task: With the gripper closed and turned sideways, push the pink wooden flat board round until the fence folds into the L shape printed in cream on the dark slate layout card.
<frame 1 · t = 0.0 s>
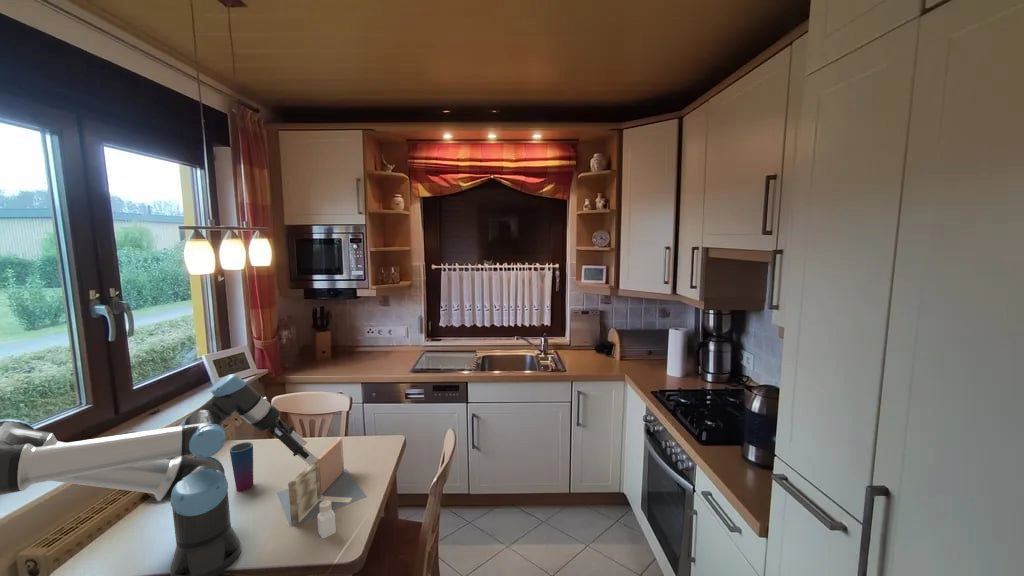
hand: (308, 453, 136), 15 cm above the table, tool tilted 35°, fingers open, 13 cm apart
fixed fence section: (317, 498, 136), resting on layout card
salt shaker: (327, 534, 120), on the table
layout card: (321, 495, 138), on the table
pie: (171, 489, 143), on the table
cup: (245, 487, 143), on the table
pink wooden flat board: (330, 464, 144), point 7 cm above the table, hinge at 0.0°
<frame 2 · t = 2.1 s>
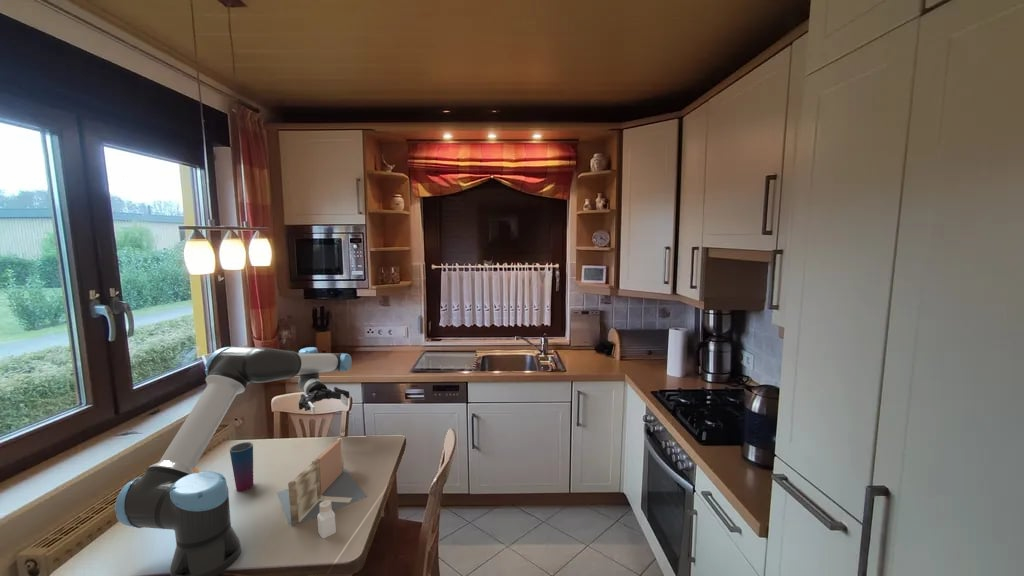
hand: (330, 406, 153), 24 cm above the table, tool horizontal, fingers open, 11 cm apart
nothing on the table moved.
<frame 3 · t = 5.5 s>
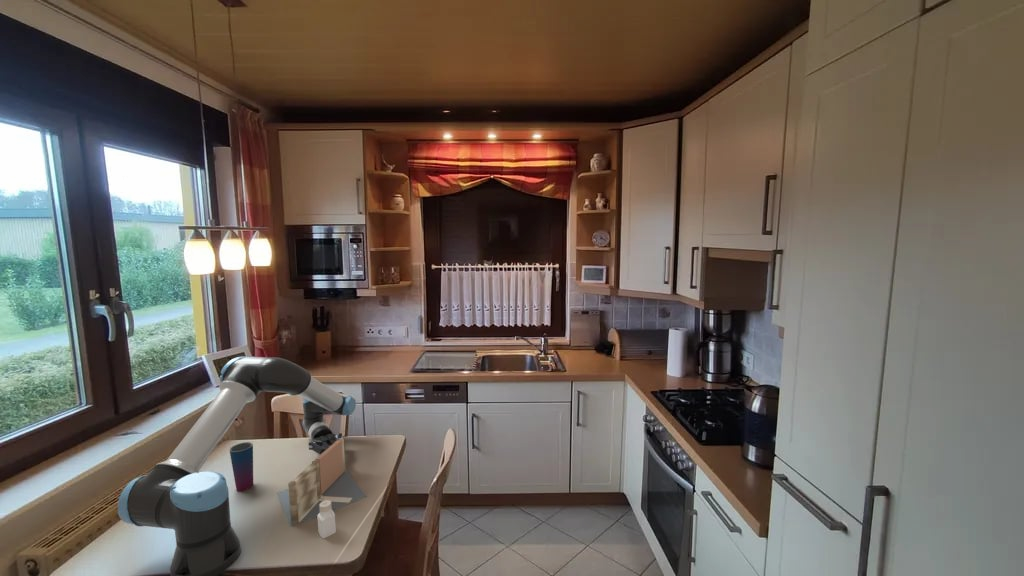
hand: (338, 457, 151), 6 cm above the table, tool horizontal, fingers closed
pink wooden flat board: (331, 464, 144), point 7 cm above the table, hinge at -1.9°, touching gripper
everything else where it was.
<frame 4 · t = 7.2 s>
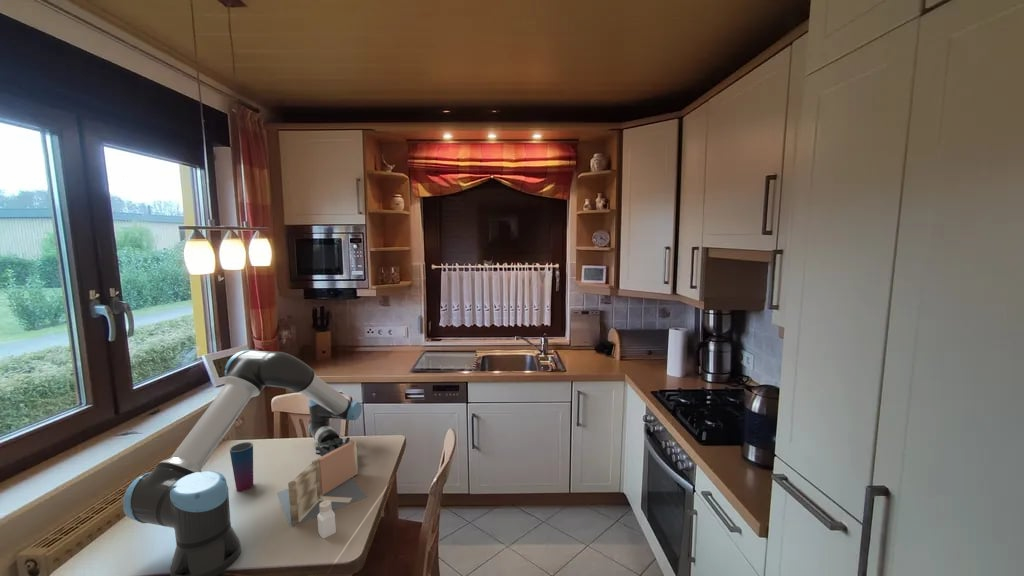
hand: (346, 462, 147), 6 cm above the table, tool horizontal, fingers closed
pink wooden flat board: (339, 466, 143), point 7 cm above the table, hinge at -22.9°, touching gripper
everything else where it was.
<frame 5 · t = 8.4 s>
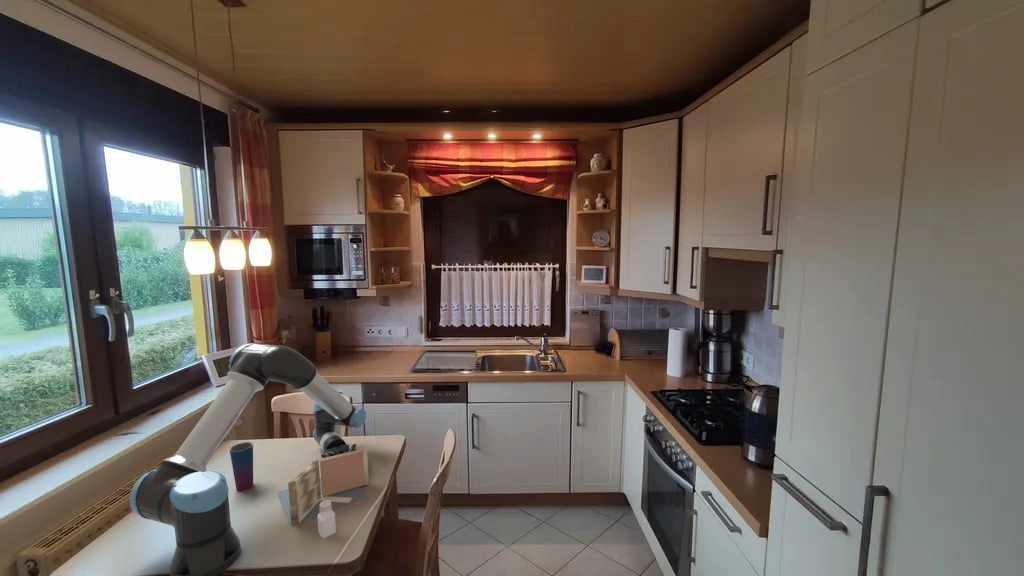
hand: (353, 470, 142), 6 cm above the table, tool horizontal, fingers closed
pink wooden flat board: (345, 471, 139), point 7 cm above the table, hinge at -55.6°, touching gripper
everything else where it was.
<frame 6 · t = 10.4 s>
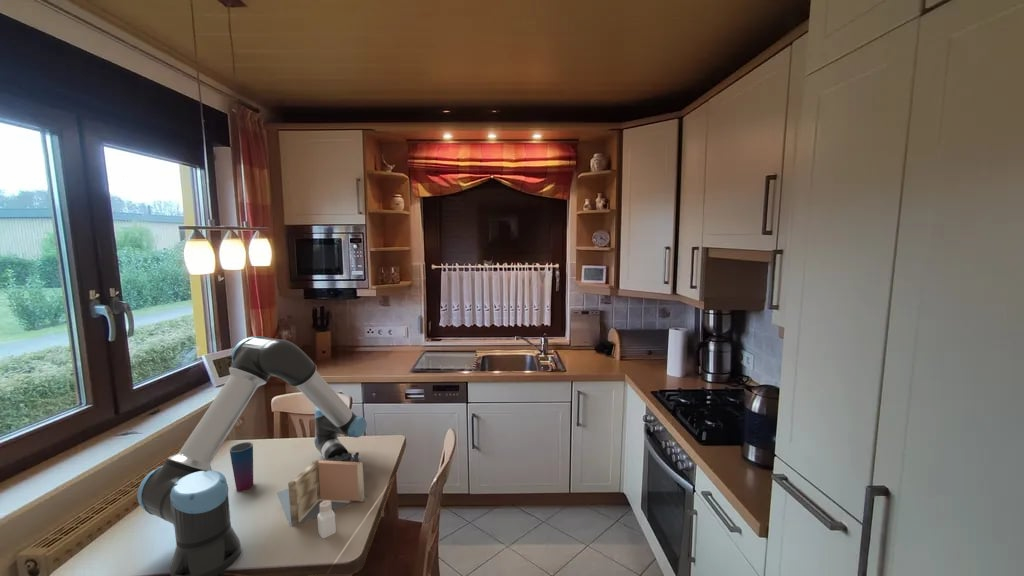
hand: (356, 481, 135), 6 cm above the table, tool horizontal, fingers closed
pink wooden flat board: (341, 480, 134), point 7 cm above the table, hinge at -90.6°, touching gripper
everything else where it was.
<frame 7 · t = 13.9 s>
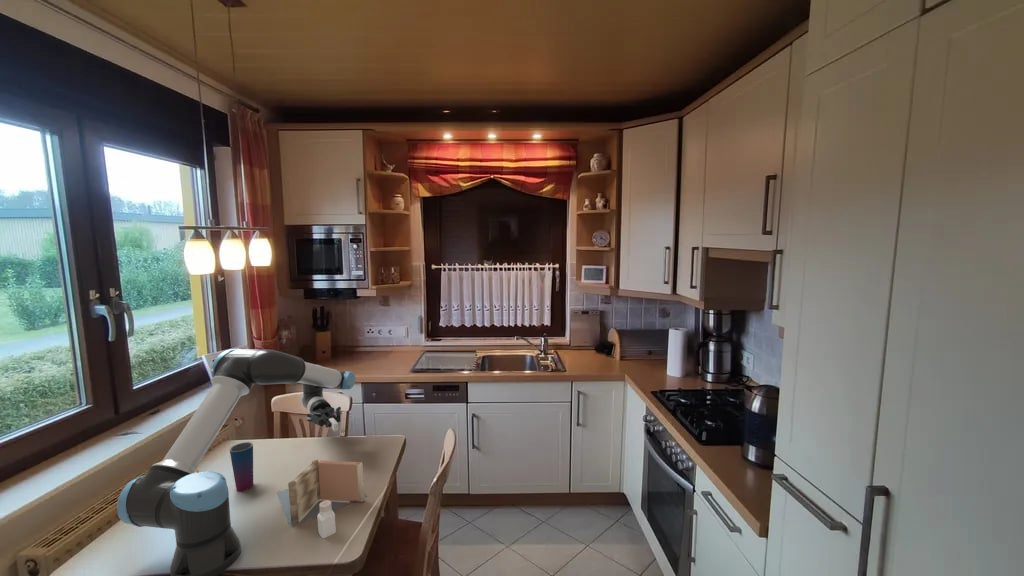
hand: (336, 427, 150), 17 cm above the table, tool horizontal, fingers closed
pink wooden flat board: (341, 480, 134), point 7 cm above the table, hinge at -90.6°
everything else where it was.
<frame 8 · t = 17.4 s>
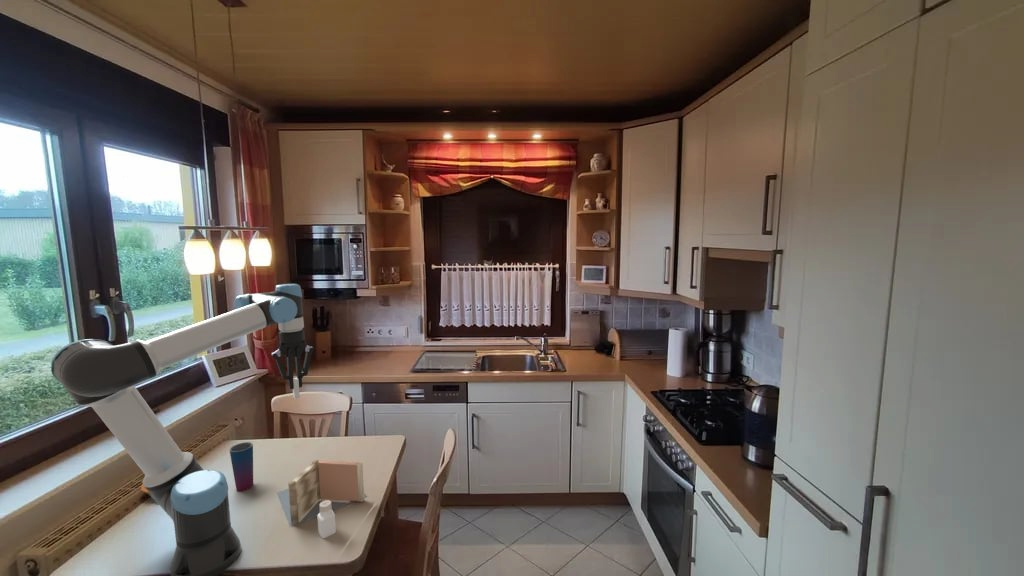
hand: (296, 397, 140), 32 cm above the table, tool pointing down, fingers closed
nothing on the table moved.
at the end: pink wooden flat board at -91° (first picture: +0°); salt shaker moved 0.2 cm from its start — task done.
